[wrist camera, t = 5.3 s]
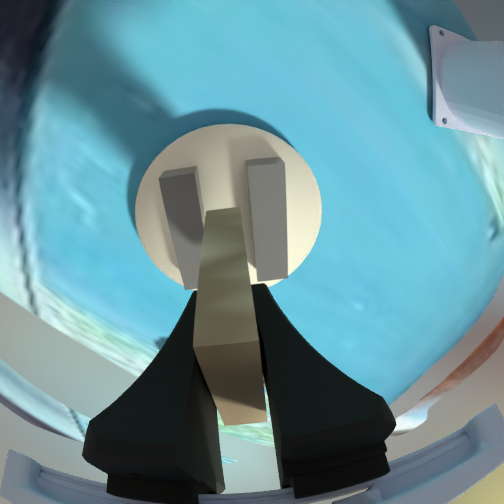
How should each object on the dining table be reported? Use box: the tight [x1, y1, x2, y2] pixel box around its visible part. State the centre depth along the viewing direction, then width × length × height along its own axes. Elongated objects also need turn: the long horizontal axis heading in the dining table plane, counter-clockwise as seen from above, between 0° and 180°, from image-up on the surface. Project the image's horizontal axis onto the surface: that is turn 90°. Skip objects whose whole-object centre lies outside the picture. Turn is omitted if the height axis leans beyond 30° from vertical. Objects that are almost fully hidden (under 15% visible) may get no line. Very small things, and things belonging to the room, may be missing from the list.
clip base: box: [135, 123, 322, 291], centre depth 18 cm, size 12×12×2 cm
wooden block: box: [193, 207, 267, 426], centre depth 11 cm, size 2×5×8 cm, turn 5°
